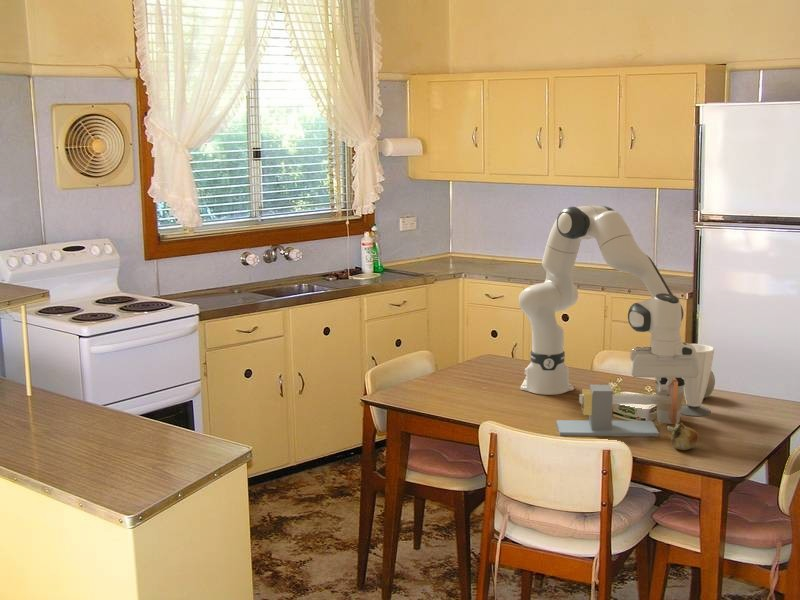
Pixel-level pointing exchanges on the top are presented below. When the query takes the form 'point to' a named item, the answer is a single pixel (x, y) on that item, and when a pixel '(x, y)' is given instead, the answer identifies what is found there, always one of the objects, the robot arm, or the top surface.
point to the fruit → (710, 385)
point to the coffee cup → (664, 408)
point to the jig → (604, 419)
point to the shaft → (649, 399)
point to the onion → (683, 437)
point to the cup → (698, 383)
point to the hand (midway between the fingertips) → (663, 390)
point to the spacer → (587, 402)
